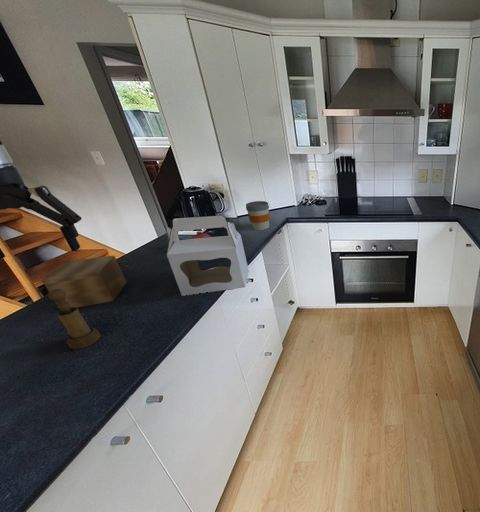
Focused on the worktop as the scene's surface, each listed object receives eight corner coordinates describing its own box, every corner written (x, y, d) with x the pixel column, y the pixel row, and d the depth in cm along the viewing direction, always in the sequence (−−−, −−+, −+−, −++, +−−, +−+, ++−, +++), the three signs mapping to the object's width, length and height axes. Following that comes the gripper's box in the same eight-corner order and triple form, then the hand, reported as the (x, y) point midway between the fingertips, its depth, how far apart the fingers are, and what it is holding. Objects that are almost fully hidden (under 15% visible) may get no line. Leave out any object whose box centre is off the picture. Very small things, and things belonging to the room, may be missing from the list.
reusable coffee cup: (255, 232, 159) (250, 208, 153) (246, 227, 167) (241, 203, 160) (276, 227, 168) (272, 203, 161) (266, 222, 175) (262, 199, 168)
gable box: (249, 271, 119) (235, 209, 106) (246, 287, 108) (230, 220, 95) (191, 278, 112) (168, 213, 100) (180, 296, 101) (154, 225, 89)
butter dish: (188, 246, 141) (183, 230, 137) (213, 240, 148) (208, 226, 144) (192, 253, 133) (187, 237, 129) (218, 247, 140) (214, 232, 136)
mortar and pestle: (82, 334, 83) (51, 284, 75) (106, 332, 84) (79, 282, 76) (63, 351, 77) (27, 298, 69) (90, 348, 78) (58, 296, 70)
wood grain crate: (60, 310, 92) (41, 280, 87) (80, 289, 104) (64, 262, 98) (113, 301, 98) (99, 272, 93) (126, 282, 109) (114, 255, 104)
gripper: (-127, 172, 51) (-50, 270, 60) (58, 166, 61) (99, 251, 71) (-90, 166, 57) (-25, 256, 66) (73, 162, 67) (109, 240, 77)
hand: (39, 254), depth 69 cm, fingers open, 13 cm apart
